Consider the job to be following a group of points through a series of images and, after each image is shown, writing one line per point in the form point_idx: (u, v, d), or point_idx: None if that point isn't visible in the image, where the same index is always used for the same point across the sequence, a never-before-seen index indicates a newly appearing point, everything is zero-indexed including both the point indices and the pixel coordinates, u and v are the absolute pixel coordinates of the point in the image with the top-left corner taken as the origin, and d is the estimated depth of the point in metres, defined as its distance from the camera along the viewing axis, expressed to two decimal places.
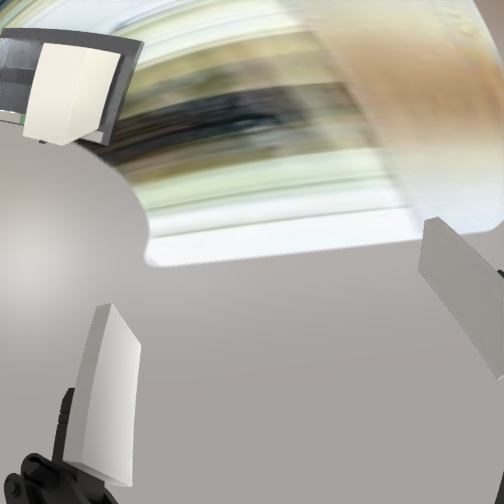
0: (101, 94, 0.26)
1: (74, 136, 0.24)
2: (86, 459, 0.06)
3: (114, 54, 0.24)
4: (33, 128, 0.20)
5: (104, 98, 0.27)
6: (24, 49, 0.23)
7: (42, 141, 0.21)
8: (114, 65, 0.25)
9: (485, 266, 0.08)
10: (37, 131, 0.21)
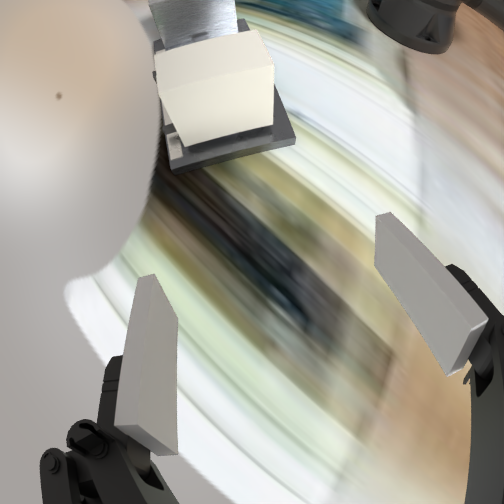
0: (224, 125, 0.27)
1: (171, 108, 0.22)
2: (141, 421, 0.07)
3: (271, 113, 0.27)
4: (166, 59, 0.21)
5: (220, 133, 0.28)
6: None
7: (155, 73, 0.20)
8: (259, 123, 0.28)
9: (431, 259, 0.09)
10: (163, 64, 0.20)
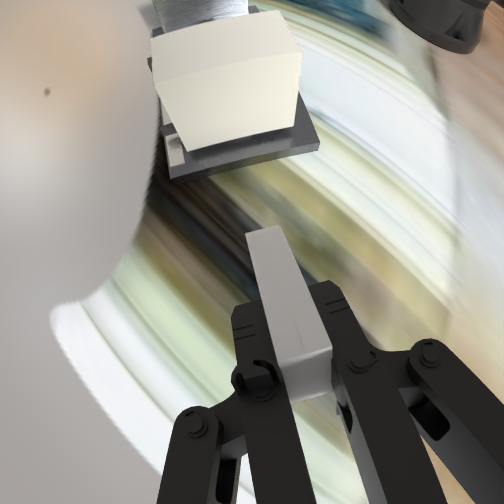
0: (235, 125, 0.22)
1: (170, 104, 0.17)
2: None
3: (293, 113, 0.22)
4: (164, 43, 0.16)
5: (230, 136, 0.23)
6: None
7: (150, 60, 0.16)
8: (277, 124, 0.23)
9: (295, 275, 0.10)
10: (161, 49, 0.16)
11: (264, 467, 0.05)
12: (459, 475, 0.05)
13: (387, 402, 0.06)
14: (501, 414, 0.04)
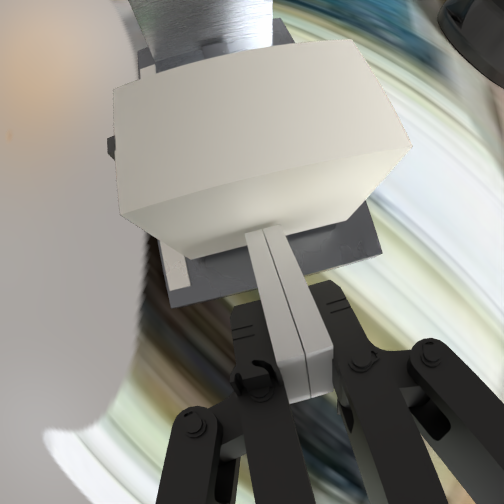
0: None
1: (158, 230, 0.10)
2: None
3: (352, 211, 0.15)
4: (139, 103, 0.09)
5: None
6: None
7: (112, 146, 0.09)
8: (326, 222, 0.16)
9: (295, 275, 0.10)
10: (133, 117, 0.09)
11: (263, 467, 0.05)
12: (460, 475, 0.05)
13: (388, 402, 0.06)
14: (502, 413, 0.04)
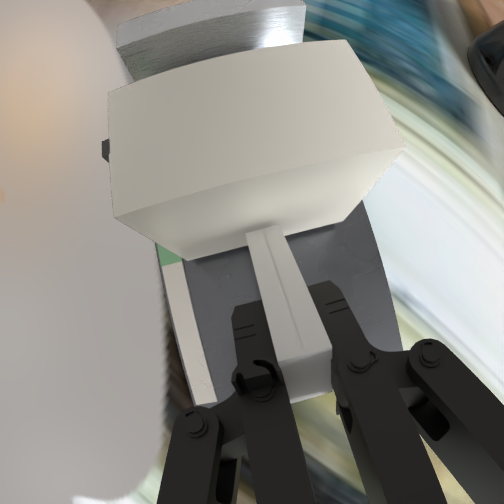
0: None
1: (153, 231, 0.10)
2: None
3: (348, 211, 0.15)
4: (133, 106, 0.09)
5: None
6: None
7: (107, 149, 0.09)
8: (322, 223, 0.16)
9: (295, 275, 0.10)
10: (127, 121, 0.09)
11: (264, 467, 0.05)
12: (459, 475, 0.05)
13: (386, 402, 0.06)
14: (501, 414, 0.04)
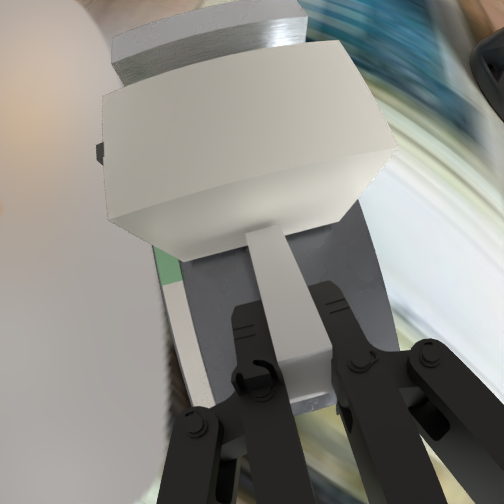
0: None
1: (147, 233, 0.10)
2: None
3: (344, 212, 0.15)
4: (127, 109, 0.09)
5: (247, 243, 0.16)
6: None
7: (101, 152, 0.09)
8: (318, 224, 0.16)
9: (295, 276, 0.10)
10: (121, 124, 0.09)
11: (264, 467, 0.05)
12: (459, 475, 0.05)
13: (387, 402, 0.06)
14: (501, 414, 0.04)
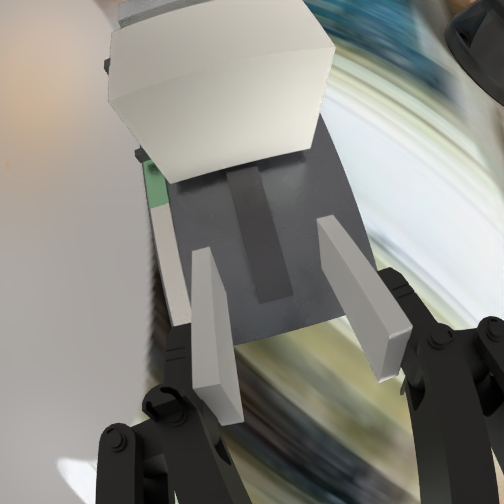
0: (233, 150, 0.16)
1: (137, 127, 0.12)
2: (221, 381, 0.08)
3: (311, 133, 0.16)
4: (130, 37, 0.10)
5: (226, 163, 0.18)
6: None
7: (108, 63, 0.10)
8: (290, 147, 0.18)
9: (362, 263, 0.10)
10: (124, 46, 0.10)
11: (186, 488, 0.05)
12: (501, 454, 0.05)
13: (458, 379, 0.06)
14: None
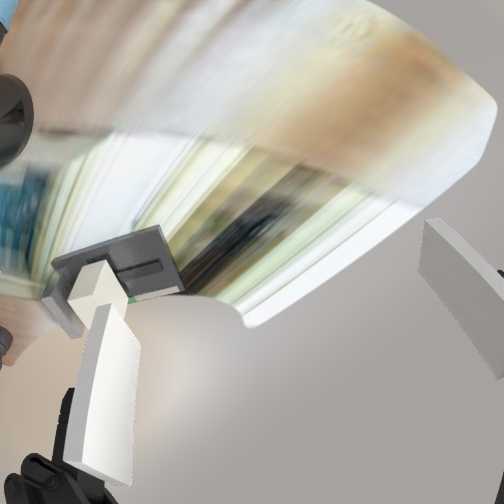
0: (115, 288, 0.48)
1: None
2: (86, 459, 0.06)
3: (103, 267, 0.45)
4: None
5: (118, 285, 0.49)
6: None
7: None
8: (108, 268, 0.47)
9: (485, 265, 0.08)
10: None
11: None
12: None
13: None
14: None
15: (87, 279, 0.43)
